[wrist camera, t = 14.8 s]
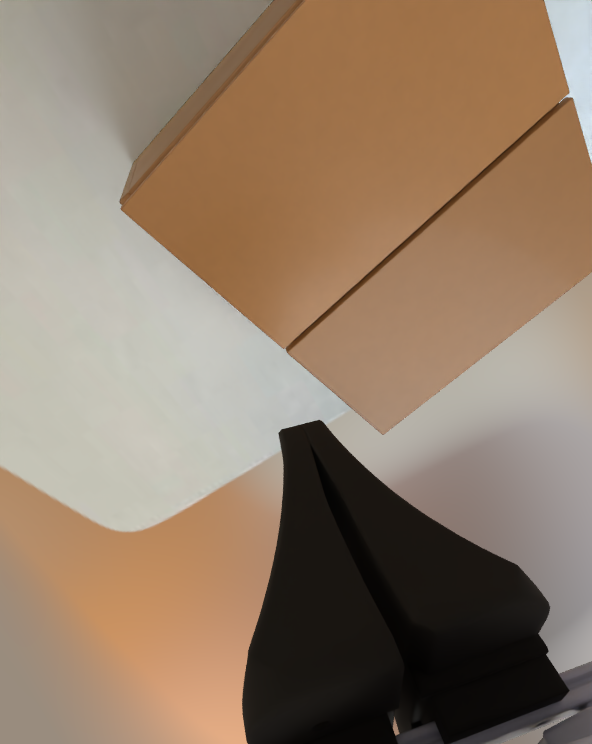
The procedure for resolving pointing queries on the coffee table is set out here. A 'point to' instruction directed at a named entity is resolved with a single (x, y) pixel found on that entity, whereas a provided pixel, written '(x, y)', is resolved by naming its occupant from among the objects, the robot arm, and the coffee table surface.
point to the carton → (436, 259)
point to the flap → (345, 145)
